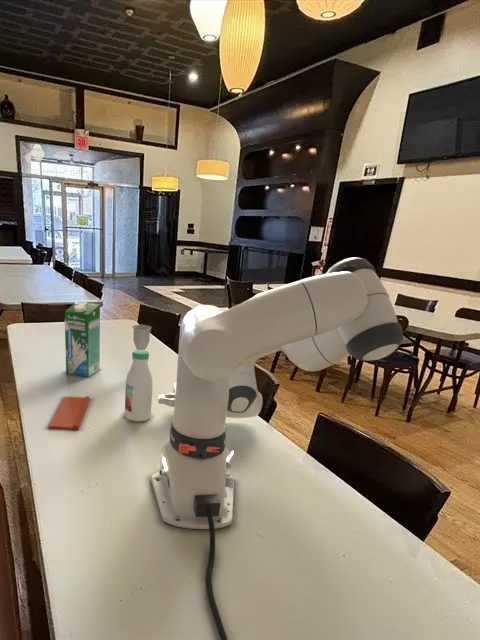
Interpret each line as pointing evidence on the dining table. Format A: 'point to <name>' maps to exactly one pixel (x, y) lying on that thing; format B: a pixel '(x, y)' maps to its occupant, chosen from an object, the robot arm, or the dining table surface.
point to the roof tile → (70, 413)
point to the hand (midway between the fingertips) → (158, 398)
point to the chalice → (141, 336)
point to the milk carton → (82, 338)
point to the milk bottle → (138, 388)
